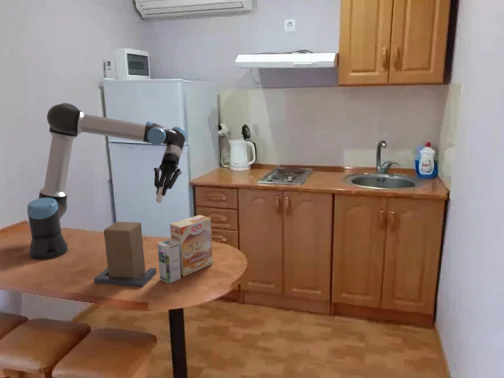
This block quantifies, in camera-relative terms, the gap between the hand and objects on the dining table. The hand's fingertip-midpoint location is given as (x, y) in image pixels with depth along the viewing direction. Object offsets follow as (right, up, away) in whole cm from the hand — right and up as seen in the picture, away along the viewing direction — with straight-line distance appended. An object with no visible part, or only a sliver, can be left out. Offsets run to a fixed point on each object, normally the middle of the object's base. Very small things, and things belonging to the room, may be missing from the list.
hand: (158, 201), depth 181 cm
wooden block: (-7, -28, -22) cm, 36 cm away
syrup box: (+10, -28, -26) cm, 40 cm away
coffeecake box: (+17, -26, -16) cm, 35 cm away
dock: (-7, -28, -24) cm, 38 cm away
